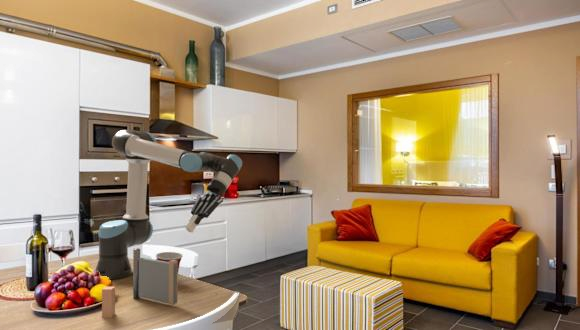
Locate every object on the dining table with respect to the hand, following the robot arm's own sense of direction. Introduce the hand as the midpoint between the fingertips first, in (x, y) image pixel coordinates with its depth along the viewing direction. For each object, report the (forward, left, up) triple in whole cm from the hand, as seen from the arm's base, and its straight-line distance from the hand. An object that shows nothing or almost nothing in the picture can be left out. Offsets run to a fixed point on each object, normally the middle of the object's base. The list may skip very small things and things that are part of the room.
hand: (188, 230), depth 154 cm
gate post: (-2, -19, -24) cm, 30 cm away
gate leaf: (+7, -13, -23) cm, 27 cm away
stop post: (+12, -29, -24) cm, 39 cm away
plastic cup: (-15, -5, -24) cm, 29 cm away
